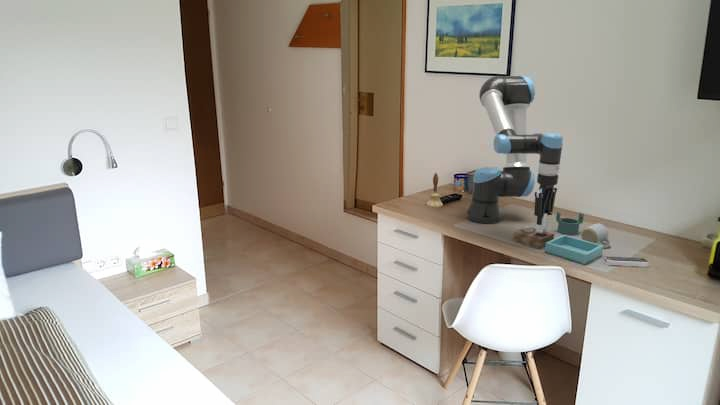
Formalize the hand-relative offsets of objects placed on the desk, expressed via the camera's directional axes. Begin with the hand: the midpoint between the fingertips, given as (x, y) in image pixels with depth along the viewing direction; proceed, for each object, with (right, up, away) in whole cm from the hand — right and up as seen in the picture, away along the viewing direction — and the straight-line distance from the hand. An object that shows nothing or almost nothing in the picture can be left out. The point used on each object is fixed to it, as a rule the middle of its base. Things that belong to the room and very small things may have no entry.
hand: (541, 230), depth 213 cm
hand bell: (-35, +10, +52) cm, 64 cm away
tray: (+9, -8, -8) cm, 15 cm away
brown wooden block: (-2, -5, +4) cm, 6 cm away
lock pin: (0, -5, +2) cm, 6 cm away
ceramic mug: (+23, -6, +3) cm, 24 cm away
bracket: (+17, -1, +17) cm, 24 cm away
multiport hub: (+25, -12, -17) cm, 32 cm away
